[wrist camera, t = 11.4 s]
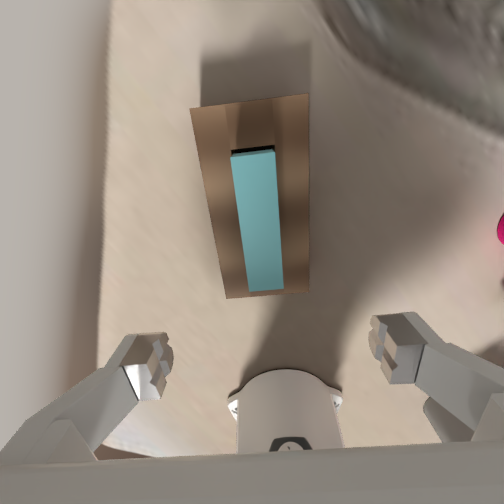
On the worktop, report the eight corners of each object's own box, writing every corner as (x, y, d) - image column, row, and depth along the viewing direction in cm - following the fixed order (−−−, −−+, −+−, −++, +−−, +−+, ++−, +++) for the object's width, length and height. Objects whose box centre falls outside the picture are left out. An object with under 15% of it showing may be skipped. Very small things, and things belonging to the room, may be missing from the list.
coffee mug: (466, 422, 43) (522, 498, 34) (413, 418, 43) (456, 494, 34) (511, 373, 37) (594, 449, 28) (450, 367, 37) (514, 443, 28)
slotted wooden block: (302, 272, 29) (309, 291, 26) (229, 278, 30) (226, 298, 26) (299, 99, 21) (308, 93, 18) (200, 112, 22) (189, 108, 18)
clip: (276, 248, 28) (283, 288, 21) (250, 251, 28) (249, 291, 21) (268, 146, 23) (275, 152, 16) (237, 149, 23) (230, 157, 16)
